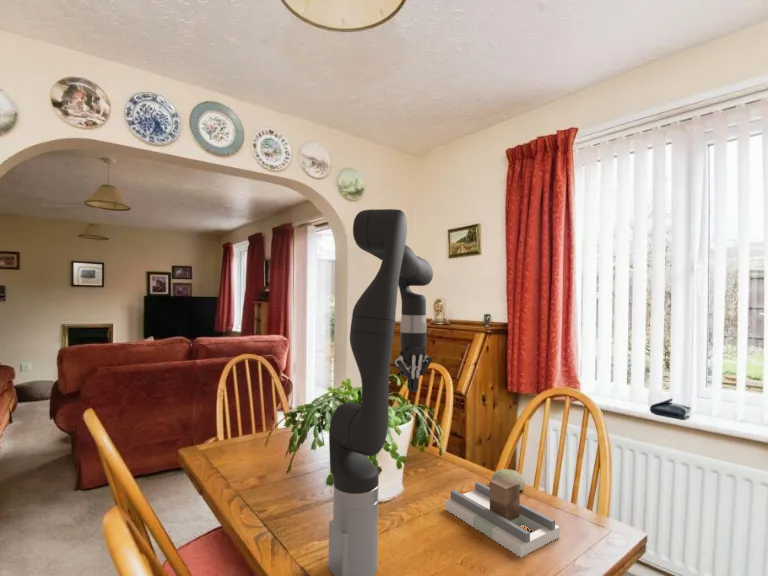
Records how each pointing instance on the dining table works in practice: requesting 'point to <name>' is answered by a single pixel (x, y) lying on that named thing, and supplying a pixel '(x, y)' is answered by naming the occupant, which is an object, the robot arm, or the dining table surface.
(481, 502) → the lane deck
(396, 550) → the dining table surface
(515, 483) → the walnut block
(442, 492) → the dining table surface
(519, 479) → the sea urchin shell
